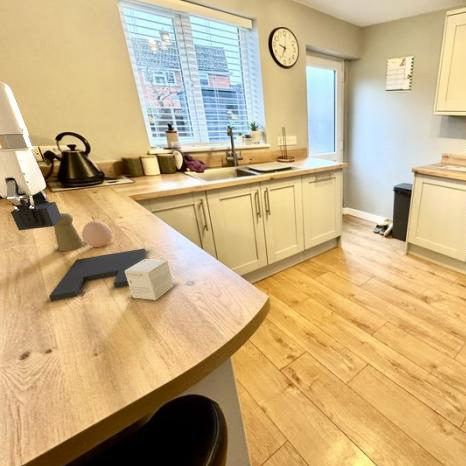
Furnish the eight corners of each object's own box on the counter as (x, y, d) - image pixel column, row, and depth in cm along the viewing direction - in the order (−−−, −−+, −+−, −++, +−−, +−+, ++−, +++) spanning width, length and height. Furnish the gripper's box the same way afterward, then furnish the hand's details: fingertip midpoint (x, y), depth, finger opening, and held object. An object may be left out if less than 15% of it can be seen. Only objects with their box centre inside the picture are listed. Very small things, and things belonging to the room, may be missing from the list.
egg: (85, 252, 87) (75, 227, 84) (88, 244, 93) (79, 220, 90) (114, 247, 91) (106, 222, 88) (116, 239, 97) (108, 216, 93)
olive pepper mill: (62, 245, 92) (49, 212, 88) (86, 242, 95) (75, 210, 90) (55, 252, 87) (41, 218, 83) (81, 249, 90) (68, 215, 86)
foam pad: (18, 230, 66) (10, 211, 64) (29, 222, 71) (22, 205, 69) (53, 226, 68) (46, 208, 67) (62, 218, 73) (55, 201, 72)
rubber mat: (51, 301, 65) (49, 296, 64) (78, 264, 81) (76, 259, 80) (137, 284, 72) (135, 279, 71) (145, 252, 88) (144, 248, 87)
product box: (132, 298, 66) (122, 270, 63) (152, 284, 72) (144, 258, 69) (156, 300, 65) (148, 272, 63) (174, 286, 71) (168, 260, 68)
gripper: (2, 140, 68) (33, 213, 74) (-44, 147, 54) (-1, 236, 61) (45, 139, 71) (71, 209, 78) (12, 146, 57) (47, 230, 64)
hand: (39, 220), depth 69 cm, fingers closed on foam pad, 6 cm apart
